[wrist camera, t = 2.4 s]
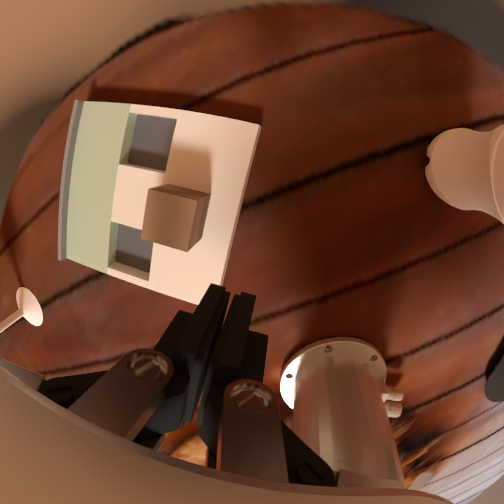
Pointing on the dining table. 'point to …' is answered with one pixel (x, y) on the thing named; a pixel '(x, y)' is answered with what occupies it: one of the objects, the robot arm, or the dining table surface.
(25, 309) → the champagne flute
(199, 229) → the walnut block
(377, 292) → the dining table surface
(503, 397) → the casserole
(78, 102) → the board
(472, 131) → the water bottle
